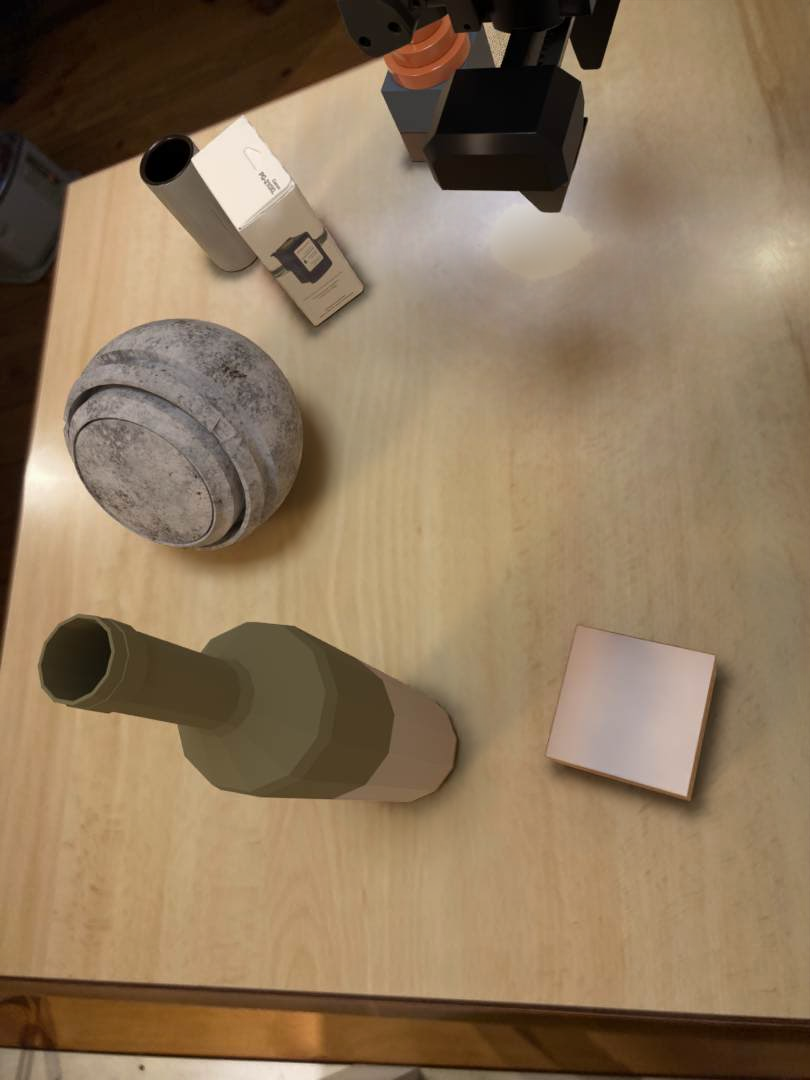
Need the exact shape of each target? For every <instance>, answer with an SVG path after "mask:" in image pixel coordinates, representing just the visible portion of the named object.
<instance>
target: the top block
mask: <svg viewBox="0 0 810 1080" xmlns="http://www.w3.org/2000/svg"><path fill="white" fill-rule="evenodd" d="M469 34H470V37H471V48H470V52H469V55H468V57H467V59H466V61H465V63H464V64H463V65H462V67H461V68H460V69H472V68H493V67H494V65H495V66H496V62H495V59H494V57H493V52H492V49H491V46H490V42H489V39H488V35H487V32H486V28H485V25H484V23H483V24H482V28H481V30H480V31H479V32H469ZM385 74H386V75H385V77H384V80H383V83H382V86H381V89H380V93H381V95H382V97H383V100H384V102H385V104H386V106H387V108H388V110H389V113H390V115H391V117H392V120H393V122H394V124H395V127H396V129H397V131H398V132H399V133H400V132H428V130H429V127H430V123H431V120H432V117H433V114H434V111H435V108H436V105H437V102H438V99H439V96H440V93H441V90H442V87H443V86H444V84H445V83H446V82H447V80H448V79H447V80H446V81H444V82H442V83H440V84H438V85H436V86H434V87H430V88H426V89H420V90H412V89H407V88H404V87H402V86H400V85H398V84H397V83H396V82H395V81H394V80H393V79H392V77H391V75H390V72H389V70H388V69H387V71H386V73H385Z"/></svg>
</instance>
